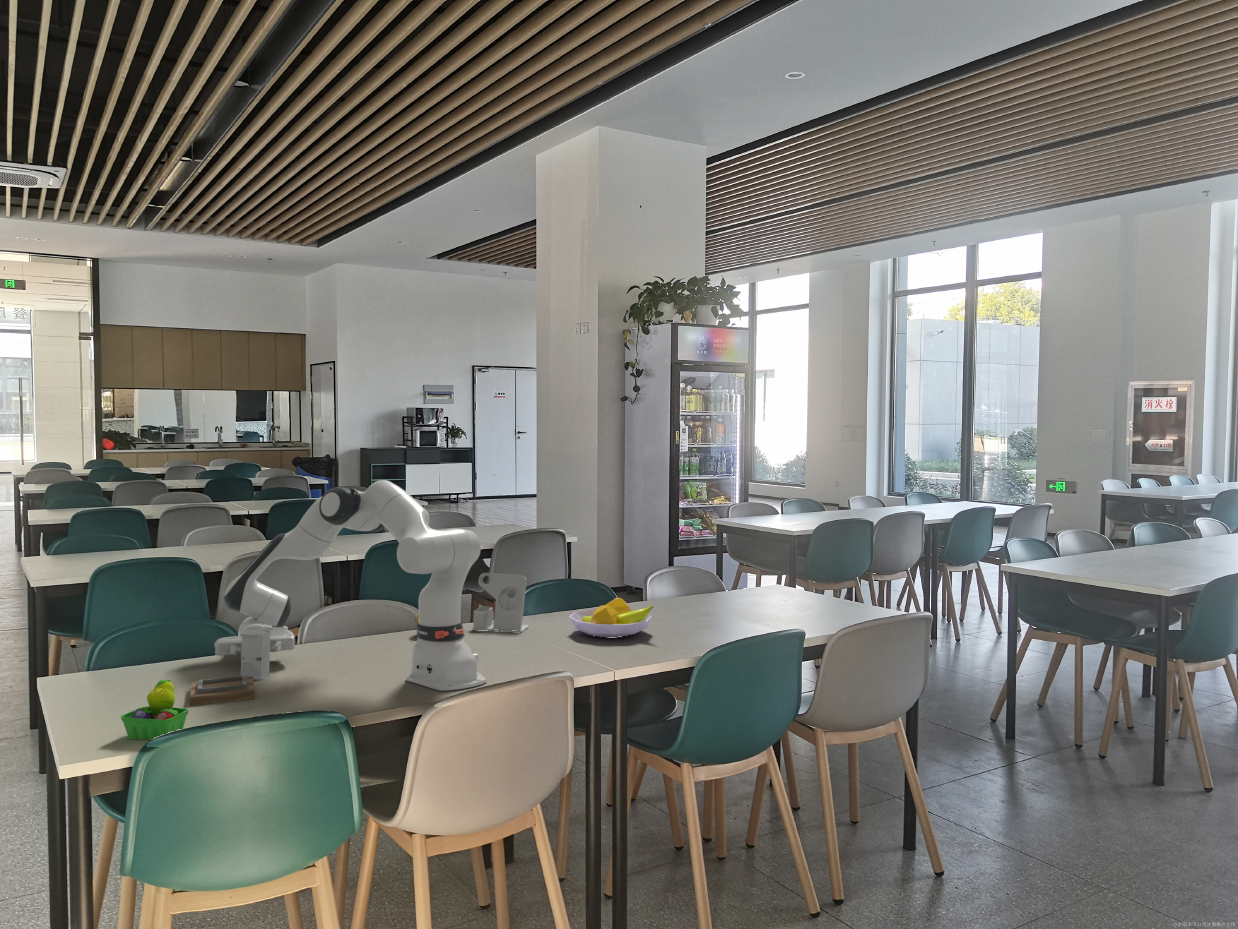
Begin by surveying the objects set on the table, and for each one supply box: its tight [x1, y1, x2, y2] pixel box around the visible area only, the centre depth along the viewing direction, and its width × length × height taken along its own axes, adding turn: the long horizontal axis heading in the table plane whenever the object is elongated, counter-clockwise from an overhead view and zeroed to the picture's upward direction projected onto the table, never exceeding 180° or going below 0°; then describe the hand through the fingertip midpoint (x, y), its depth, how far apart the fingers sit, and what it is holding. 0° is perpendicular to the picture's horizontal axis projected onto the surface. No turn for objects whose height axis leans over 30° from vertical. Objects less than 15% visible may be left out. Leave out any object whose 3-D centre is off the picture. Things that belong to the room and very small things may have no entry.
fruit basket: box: [120, 679, 190, 741], centre depth 190 cm, size 11×9×11 cm
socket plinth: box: [189, 675, 255, 706], centre depth 220 cm, size 14×14×3 cm
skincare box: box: [240, 630, 271, 681], centre depth 236 cm, size 6×4×12 cm
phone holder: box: [472, 572, 530, 632], centre depth 297 cm, size 17×10×18 cm, turn 79°
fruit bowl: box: [568, 597, 654, 638], centre depth 291 cm, size 28×27×11 cm
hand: (256, 650), depth 239 cm, fingers open, 8 cm apart
